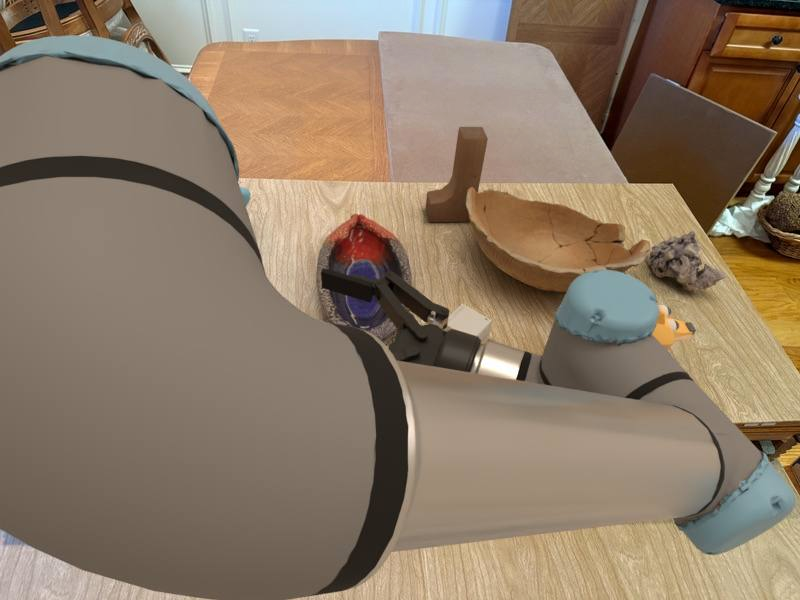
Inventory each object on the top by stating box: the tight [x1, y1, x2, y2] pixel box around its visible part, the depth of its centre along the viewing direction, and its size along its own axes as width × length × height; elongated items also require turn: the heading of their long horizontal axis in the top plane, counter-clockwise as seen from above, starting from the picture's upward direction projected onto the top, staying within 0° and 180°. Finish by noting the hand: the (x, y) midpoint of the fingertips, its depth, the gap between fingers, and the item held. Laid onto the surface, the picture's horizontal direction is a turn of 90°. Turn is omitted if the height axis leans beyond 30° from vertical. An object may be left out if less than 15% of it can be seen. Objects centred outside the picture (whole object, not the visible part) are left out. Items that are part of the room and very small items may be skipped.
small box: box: [442, 303, 493, 344], centre depth 82 cm, size 6×6×5 cm
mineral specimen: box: [647, 230, 727, 292], centre depth 95 cm, size 12×9×10 cm
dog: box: [652, 304, 697, 352], centre depth 77 cm, size 8×20×13 cm, turn 93°
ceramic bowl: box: [466, 187, 651, 293], centre depth 93 cm, size 30×27×15 cm
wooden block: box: [424, 126, 488, 223], centre depth 101 cm, size 9×4×18 cm, turn 96°
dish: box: [316, 213, 413, 342], centre depth 89 cm, size 16×31×5 cm, turn 3°
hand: (295, 314), depth 62 cm, fingers open, 13 cm apart
